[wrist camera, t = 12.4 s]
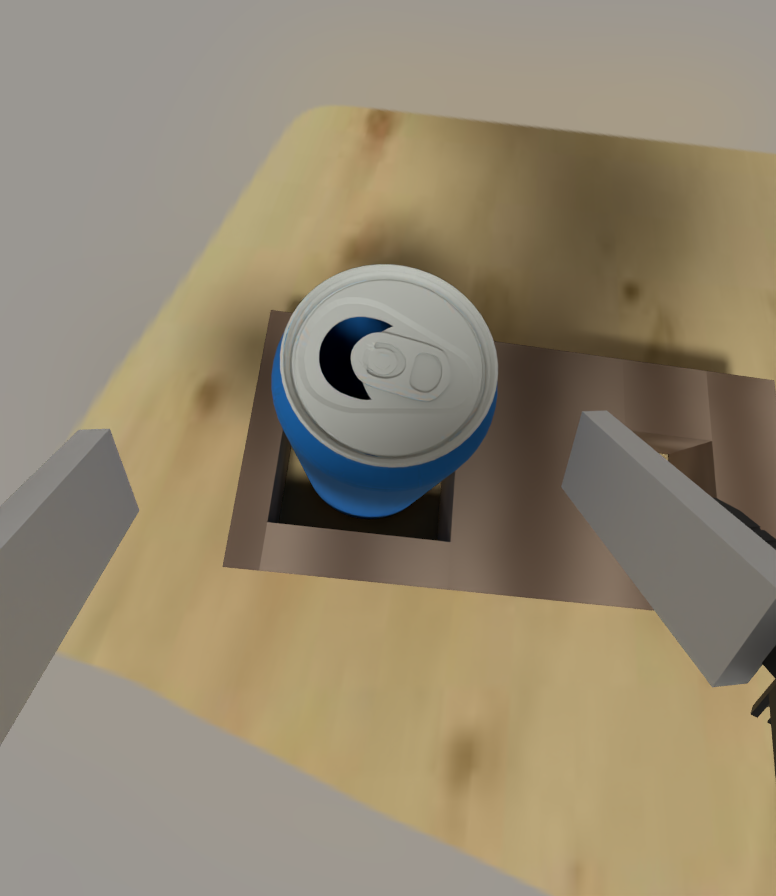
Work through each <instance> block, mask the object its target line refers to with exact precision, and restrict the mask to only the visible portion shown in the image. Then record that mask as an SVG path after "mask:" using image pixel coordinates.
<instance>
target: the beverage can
mask: <svg viewBox="0 0 776 896" xmlns="http://www.w3.org/2000/svg"><path fill="white" fill-rule="evenodd" d="M497 380H498V360H497V353H496V348H495V344H494V341H493V338H492V335H491V333H490V330H489V328H488V326H487V324H486V322H485V321H484V319H483V317H482V316H481V314H480V313H479V311H478V310H477V309H476V308H475V306H474V305H473V304H472V303H471V302H470V301H469V300H468V299H467V298H466V297H465V295H463V294H462V293H461V292H460V291H458V290H457V289H456V288H455V287H454V286H452V285H450V284H449V283H447V282H446V281H444V280H443V279H441V278H439V277H437V276H434V275H432V274H430V273H428V272H425V271H422V270H419V269H416V268H412V267H407V266H401V265H393V264H375V265H366V266H361V267H357V268H352V269H349V270H346V271H344V272H341V273H338V274H336V275H334V276H333V277H331V278H329V279H327V280H325V281H324V282H322V283H321V284H319V285H318V286H317V287H315V288H314V289H313V290H312V291H311V292H310V293H309V294H308V295H306V297H305V298H304V299H303V300H302V301H301V302H300V304H299V305H298V306H297V308H296V309H295V311H294V312H293V314H292V316H291V317H290V320H289V322H288V324H287V326H286V328H285V332H284V333H283V335H282V337H281V340H280V342H279V344H278V346H277V350H276V353H275V357H274V361H273V368H272V375H271V389H272V396H273V403H274V407H275V410H276V414H277V417H278V419H279V422H280V424H281V426H282V428H283V430H284V432H285V434H286V436H287V438H288V440H289V442H290V444H291V446H292V448H293V450H294V451H295V453H296V455H297V457H298V459H299V461H300V463H301V465H302V467H303V469H304V471H305V472H306V474H307V476H308V478H309V480H310V482H311V484H312V486H313V487H314V489H315V491H316V492H317V493H318V495H319V496H320V497H321V498H322V499H323V500H324V501H325V502H326V503H327V504H328V505H329V506H331V507H332V508H334V509H335V510H337V511H339V512H341V513H343V514H345V515H348V516H351V517H355V518H360V519H379V518H384V517H388V516H391V515H394V514H396V513H398V512H400V511H402V510H403V509H405V508H406V507H408V506H409V505H411V504H412V503H413V502H415V501H416V500H417V499H419V498H420V497H421V496H423V495H424V494H425V493H427V492H428V491H429V490H430V489H432V488H433V487H434V486H436V485H437V484H438V483H440V482H441V481H442V480H444V479H445V478H446V477H448V476H449V475H450V474H452V473H453V472H454V471H456V470H457V469H458V468H459V467H460V466H462V465H463V464H464V463H465V462H466V461H467V460H468V459H469V458H470V457H471V456H472V455H473V453H474V452H475V451H476V450H477V449H478V447H479V446H480V444H481V443H482V441H483V439H484V438H485V436H486V434H487V432H488V430H489V427H490V425H491V422H492V419H493V416H494V412H495V408H496V401H497Z"/></svg>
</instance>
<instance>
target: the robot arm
mask: <svg viewBox="0 0 776 896" xmlns="http://www.w3.org/2000/svg"><path fill="white" fill-rule="evenodd" d="M561 487H562V489H563V490H564V491H565V493H566V494H567V495H568V497H569V498H570V499H571V501H572V502H573V503H574V505H575V506H576V507H577V509H578V510H579V511H580V513H581V514H582V515H583V517H584V518H585V519H586V520H587V522H588V523H589V524H590V526H591V527H592V528H593V530H594V531H595V532H596V534H597V535H598V536H599V538H600V539H601V540H602V542H603V543H604V544H605V546H606V547H607V548H608V550H609V551H610V552H611V554H612V555H613V556H614V558H615V559H616V560H617V562H618V563H619V564H620V566H621V567H622V568H623V569H624V571H625V572H626V573H627V575H628V576H629V577H630V579H631V580H632V581H633V583H634V584H635V585H636V587H637V588H638V589H639V591H640V592H641V593H642V595H643V596H644V597H645V599H646V600H647V601H648V603H649V604H650V605H651V607H652V608H653V609H654V611H655V612H656V613H657V614H658V616H659V617H660V618H661V620H662V621H663V622H664V624H665V625H666V626H667V628H668V629H669V630H670V632H671V633H672V634H673V636H674V637H675V638H676V640H677V641H678V642H679V644H680V645H681V646H682V648H683V649H684V650H685V652H686V653H687V654H688V656H689V657H690V658H691V660H692V661H693V662H694V663H695V665H696V666H697V667H698V669H699V670H700V671H701V673H702V674H703V675H704V677H705V678H706V679H707V681H708V682H709V683H710V685H711V686H712V687H718V686H727V685H737V684H746V683H748V682H749V681H750V680H751V678H752V677H753V676H754V675H755V673H756V672H757V671H758V669H759V668H760V667H761V666H762V664H763V665H764V666H765V667H766V668H767V670H768V671H769V672H770V673H771V674H772V675H773V676H774V677H775V678H776V539H775V538H774V537H773V536H771V535H770V534H769V533H768V532H766V531H765V530H761V529H760V526H759V525H758V524H756V523H755V522H754V521H753V520H751V519H750V518H749V517H748V516H746V515H745V514H744V513H743V512H741V511H740V510H738V509H736V508H734V507H733V506H731V505H729V504H727V503H725V502H723V501H721V500H719V499H717V498H712V497H711V496H710V495H708V494H707V493H706V492H705V491H704V490H702V489H701V488H700V487H699V486H698V485H696V484H695V483H694V482H693V481H692V480H690V479H689V478H688V477H687V476H685V475H684V474H683V473H682V472H681V471H679V470H678V469H677V468H676V467H675V466H673V465H672V464H671V463H670V462H669V461H667V460H666V459H665V458H664V457H662V456H661V455H660V454H659V453H658V452H656V451H655V450H654V449H653V448H652V447H650V446H649V445H648V444H647V443H646V442H644V441H643V440H642V439H641V438H639V437H638V436H637V435H636V434H635V433H633V432H632V431H631V430H630V429H629V428H627V427H626V426H625V425H624V424H622V423H621V422H620V421H619V420H618V419H616V418H615V417H614V416H613V415H612V414H610V413H609V412H608V411H607V410H606V411H582V414H581V417H580V421H579V425H578V428H577V432H576V435H575V439H574V443H573V446H572V450H571V453H570V457H569V461H568V464H567V468H566V472H565V475H564V479H563V482H562V486H561ZM138 512H139V508H138V505H137V503H136V500H135V497H134V494H133V492H132V489H131V486H130V483H129V481H128V478H127V475H126V472H125V470H124V467H123V464H122V461H121V459H120V456H119V453H118V450H117V448H116V445H115V442H114V439H113V437H112V434H111V431H110V429H91V430H78V431H77V432H76V433H75V434H74V435H73V436H72V437H71V438H70V439H69V440H68V441H67V442H66V443H65V444H64V445H63V446H62V447H61V448H60V449H58V450H57V451H56V452H55V453H54V454H53V455H52V456H51V457H50V458H49V459H48V460H47V461H46V462H45V463H44V464H43V465H42V466H41V467H40V468H39V469H38V470H37V471H36V472H35V473H34V474H33V475H32V476H31V477H30V478H29V479H28V480H27V481H26V482H25V483H24V484H23V485H21V487H19V488H18V490H16V491H15V492H14V493H13V494H12V495H11V496H10V497H9V498H8V499H7V500H6V501H5V502H4V503H3V504H2V505H1V506H0V745H1V744H2V742H3V740H4V738H5V737H6V735H7V734H8V732H9V730H10V728H11V727H12V725H13V724H14V722H15V720H16V718H17V717H18V715H19V713H20V712H21V710H22V708H23V707H24V705H25V703H26V701H27V700H28V698H29V696H30V695H31V693H32V691H33V690H34V688H35V686H36V685H37V683H38V681H39V679H40V678H41V676H42V674H43V672H44V671H45V669H46V668H47V666H48V664H49V663H50V661H51V659H52V657H53V656H54V654H55V652H56V651H57V649H58V647H59V646H60V644H61V642H62V640H63V639H64V637H65V635H66V634H67V632H68V630H69V629H70V627H71V625H72V624H73V622H74V620H75V618H76V617H77V615H78V613H79V612H80V610H81V608H82V607H83V605H84V603H85V602H86V600H87V598H88V596H89V595H90V593H91V591H92V590H93V588H94V586H95V585H96V583H97V581H98V579H99V578H100V576H101V574H102V573H103V571H104V569H105V568H106V566H107V564H108V563H109V561H110V559H111V557H112V556H113V554H114V552H115V551H116V549H117V547H118V546H119V544H120V542H121V541H122V539H123V537H124V535H125V534H126V532H127V530H128V529H129V527H130V525H131V524H132V522H133V520H134V518H135V517H136V515H137V513H138ZM766 707H770V716H771V718H770V719H769V720H768V722H767V723H770V724H771V728H772V740H773V752H774V764H775V776H776V679H775V680H774V681H773V682H772V683H771V685H770V686H769V687H768V688H767V689H766V691H765V692H764V693H763V694H762V695H761V697H760V698H759V699H758V700H757V701H756V703H755V704H754V705H753V707H752V711H751V715H753V716H755V717H757V718H758V716H759V715H760V714H761V713H762V712H763V711H764V710H765V708H766Z"/></svg>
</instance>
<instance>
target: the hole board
mask: <svg viewBox="0 0 776 896" xmlns="http://www.w3.org/2000/svg"><path fill="white" fill-rule="evenodd" d="M292 314H293V313H289V312H281V311H274V310H271V313H270V318H269V323H268V328H267V334H266V339H265V344H264V350H263V355H262V360H261V366H260V371H259V376H258V382H257V387H256V392H255V397H254V403H253V408H252V413H251V419H250V424H249V429H248V435H247V440H246V445H245V450H244V456H243V461H242V466H241V472H240V477H239V482H238V488H237V493H236V498H235V504H234V509H233V514H232V519H231V525H230V530H229V535H228V541H227V546H226V551H225V557H224V562H223V567H229V568H239V569H249V570H259V571H269V572H279V573H289V574H299V575H309V576H318V577H328V578H338V579H348V580H358V581H368V582H378V583H388V584H397V585H407V586H417V587H427V588H437V589H447V590H457V591H467V592H476V593H486V594H496V595H506V596H516V597H526V598H536V599H546V600H555V601H565V602H575V603H585V604H595V605H605V606H615V607H625V608H634V609H644V610H654V609H653V608H652V607H651V605H650V604H649V603H648V601H647V600H646V599H645V597H644V596H643V595H642V593H641V592H640V591H639V589H638V588H637V587H636V585H635V584H634V583H633V581H632V580H631V579H630V577H629V576H628V575H627V573H626V572H625V571H624V569H623V568H622V567H621V566H620V564H619V563H618V562H617V560H616V559H615V558H614V556H613V555H612V554H611V552H610V551H609V550H608V548H607V547H606V546H605V544H604V543H603V542H602V540H601V539H600V538H599V536H598V535H597V534H596V532H595V531H594V530H593V528H592V527H591V526H590V524H589V523H588V522H587V520H586V519H585V518H584V517H583V515H582V514H581V513H580V511H579V510H578V509H577V507H576V506H575V505H574V503H573V502H572V501H571V499H570V498H569V497H568V495H567V494H566V493H565V491H564V490H563V489H562V487H561V486H562V482H563V479H564V475H565V472H566V468H567V464H568V461H569V457H570V453H571V450H572V446H573V443H574V439H575V435H576V432H577V428H578V425H579V421H580V417H581V414H582V411H606V410H607V411H608V412H609V413H610V414H612V415H613V416H614V417H615V418H616V419H618V420H619V421H620V422H621V423H622V424H624V425H625V426H626V427H627V428H629V429H630V430H631V431H632V432H633V433H635V434H636V435H637V436H638V437H639V438H641V439H642V440H643V441H644V442H646V443H647V444H648V445H649V446H650V447H652V448H653V449H654V450H655V451H656V452H658V453H662V454H668V455H669V462H670V463H671V464H672V465H673V466H675V467H676V468H677V469H678V470H679V471H681V472H682V473H683V474H684V475H685V476H687V477H688V478H689V479H690V480H692V481H693V482H694V483H695V484H696V485H698V486H699V487H700V488H701V489H702V490H704V491H705V492H706V493H707V494H708V495H710V496H711V497H712V498H717V499H719V500H721V501H723V502H725V503H727V504H729V505H731V506H733V507H734V508H736V509H738V510H740V511H741V512H743V513H744V514H745V515H746V516H748V517H749V518H750V519H751V520H753V521H754V522H755V523H756V524H758V525H759V526H760V529H761V530H765V531H766V532H768V533H769V534H770V535H771V536H773V537H774V538H775V539H776V391H775V383H774V380H767V379H760V378H753V377H746V376H739V375H731V374H724V373H717V372H710V371H703V370H696V369H689V368H681V367H674V366H667V365H660V364H653V363H646V362H639V361H631V360H624V359H617V358H610V357H603V356H596V355H589V354H581V353H574V352H567V351H560V350H553V349H546V348H539V347H531V346H524V345H517V344H510V343H503V342H496V341H494V344H495V348H496V353H497V360H498V380H497V401H496V408H495V412H494V416H493V419H492V422H491V425H490V427H489V430H488V432H487V434H486V436H485V438H484V439H483V441H482V443H481V444H480V446H479V447H478V449H477V450H476V451H475V452H474V453H473V455H472V456H471V457H470V458H469V459H468V460H467V461H466V462H465V463H464V464H463V465H462V466H460V467H459V468H458V469H457V470H456V471H454V472H453V473H452V474H450V475H449V476H448V477H446V478H445V479H444V480H442V481H441V494H440V508H439V521H438V535H437V541H436V540H426V539H417V538H408V537H399V536H390V535H380V534H371V533H362V532H353V531H344V530H334V529H325V528H316V527H307V526H297V525H288V524H279V517H280V511H281V505H282V499H283V493H284V486H285V480H286V474H287V468H288V462H289V456H290V449H291V444H290V442H289V440H288V438H287V436H286V434H285V432H284V430H283V428H282V426H281V424H280V422H279V419H278V417H277V414H276V410H275V407H274V403H273V396H272V389H271V375H272V368H273V361H274V357H275V353H276V350H277V346H278V344H279V342H280V340H281V337H282V335H283V333H284V332H285V328H286V326H287V324H288V322H289V320H290V317H291V316H292Z"/></svg>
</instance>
